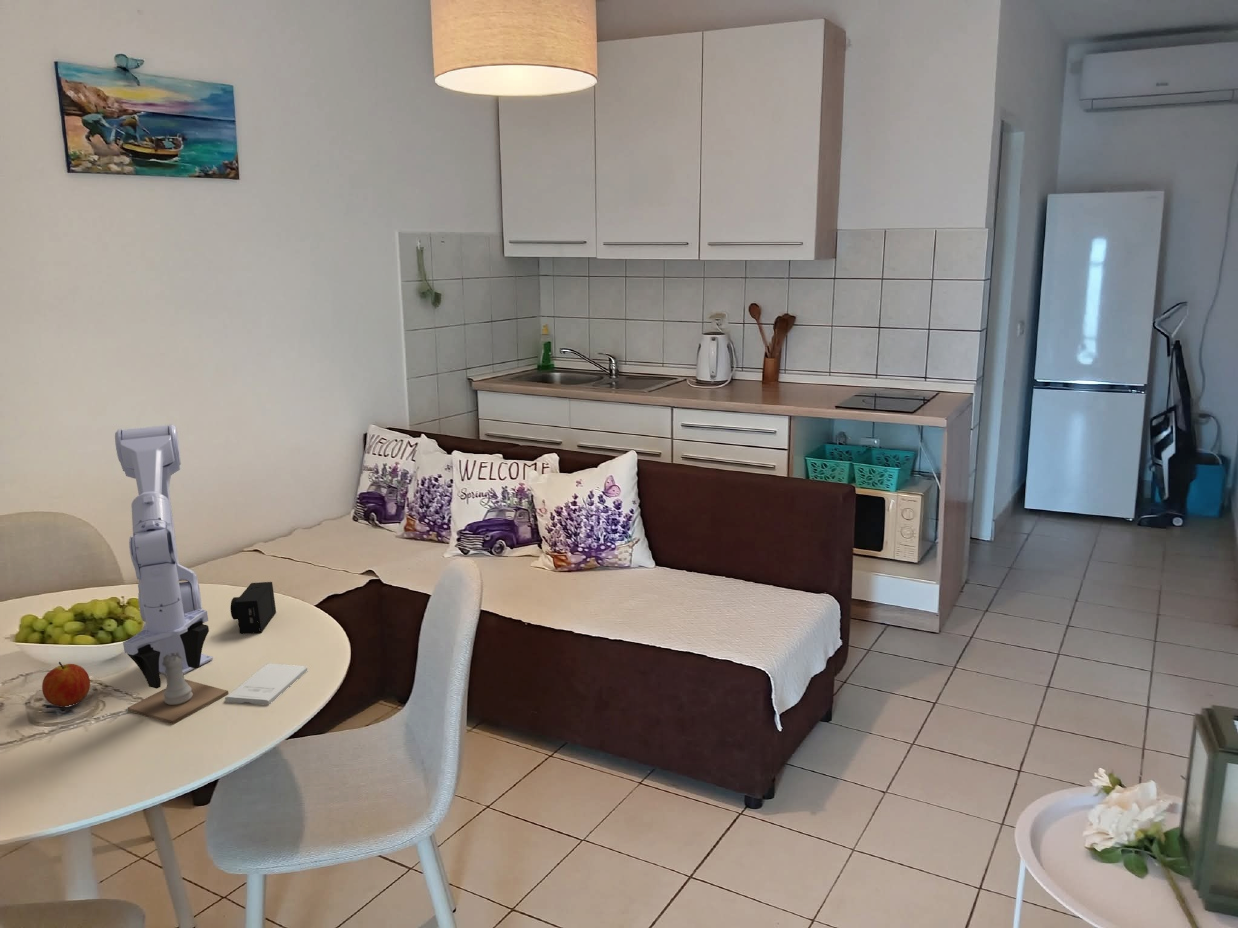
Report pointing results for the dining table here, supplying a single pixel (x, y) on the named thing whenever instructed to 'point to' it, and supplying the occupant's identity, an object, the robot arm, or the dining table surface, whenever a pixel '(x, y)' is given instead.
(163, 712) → the walnut coaster
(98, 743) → the dining table surface
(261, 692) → the external hard drive
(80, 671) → the fruit
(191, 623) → the robot arm
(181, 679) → the rook chess piece
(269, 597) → the digital camera
